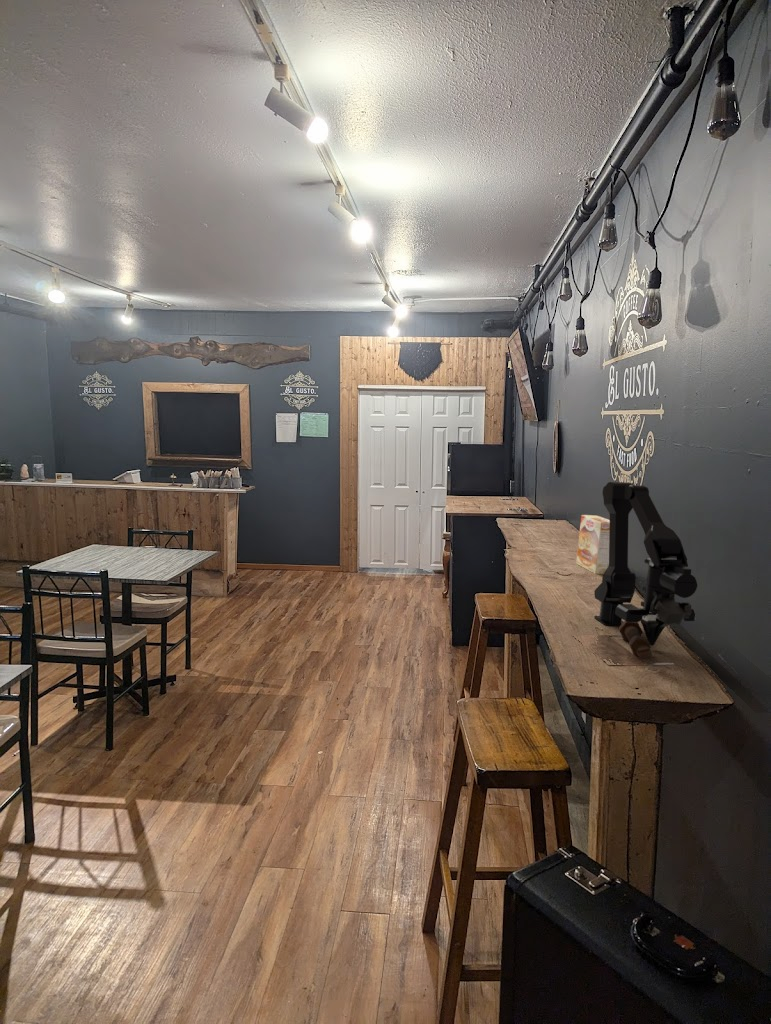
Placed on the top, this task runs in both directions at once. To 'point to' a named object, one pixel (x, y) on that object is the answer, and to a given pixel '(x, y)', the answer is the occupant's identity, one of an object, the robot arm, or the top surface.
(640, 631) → the bolt
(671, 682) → the top surface
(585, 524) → the coffeecake box
